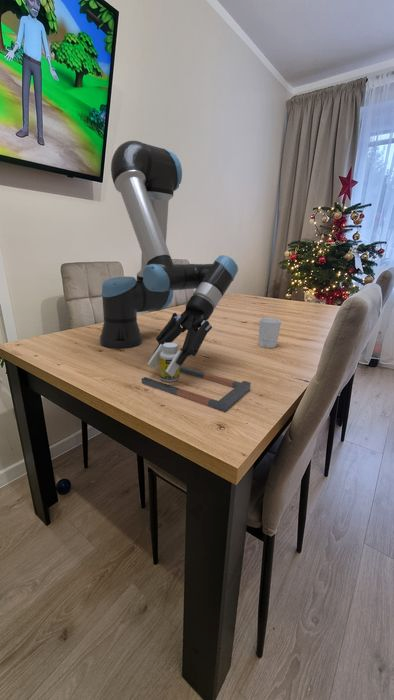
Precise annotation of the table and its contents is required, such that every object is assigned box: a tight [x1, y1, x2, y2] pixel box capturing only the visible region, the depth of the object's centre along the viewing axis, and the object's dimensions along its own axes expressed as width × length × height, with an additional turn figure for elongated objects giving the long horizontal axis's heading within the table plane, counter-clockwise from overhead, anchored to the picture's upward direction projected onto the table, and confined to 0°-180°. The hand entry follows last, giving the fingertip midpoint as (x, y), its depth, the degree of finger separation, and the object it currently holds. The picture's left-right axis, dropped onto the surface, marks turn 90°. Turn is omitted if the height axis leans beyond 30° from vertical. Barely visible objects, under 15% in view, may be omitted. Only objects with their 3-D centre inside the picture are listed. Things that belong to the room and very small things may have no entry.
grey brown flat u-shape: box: [141, 365, 252, 412], centre depth 80 cm, size 25×14×2 cm, turn 57°
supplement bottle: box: [159, 342, 180, 383], centre depth 83 cm, size 5×5×10 cm
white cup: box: [258, 317, 282, 349], centre depth 115 cm, size 8×8×10 cm
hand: (159, 369), depth 81 cm, fingers open, 6 cm apart
